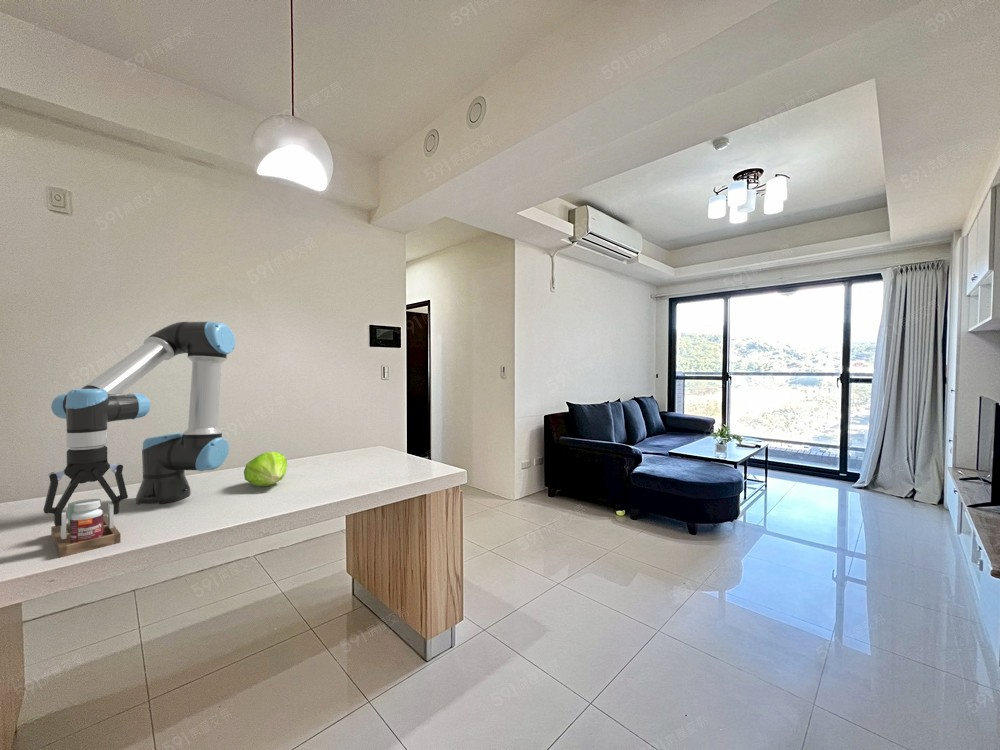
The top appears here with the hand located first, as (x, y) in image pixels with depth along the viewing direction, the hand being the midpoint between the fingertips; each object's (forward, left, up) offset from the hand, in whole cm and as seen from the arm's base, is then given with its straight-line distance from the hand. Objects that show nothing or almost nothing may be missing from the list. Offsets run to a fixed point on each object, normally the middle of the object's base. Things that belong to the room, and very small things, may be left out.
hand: (87, 531), depth 106 cm
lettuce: (-53, -22, -4) cm, 57 cm away
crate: (0, -5, -4) cm, 6 cm away
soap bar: (0, -10, -3) cm, 10 cm away
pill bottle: (0, 0, -3) cm, 3 cm away
